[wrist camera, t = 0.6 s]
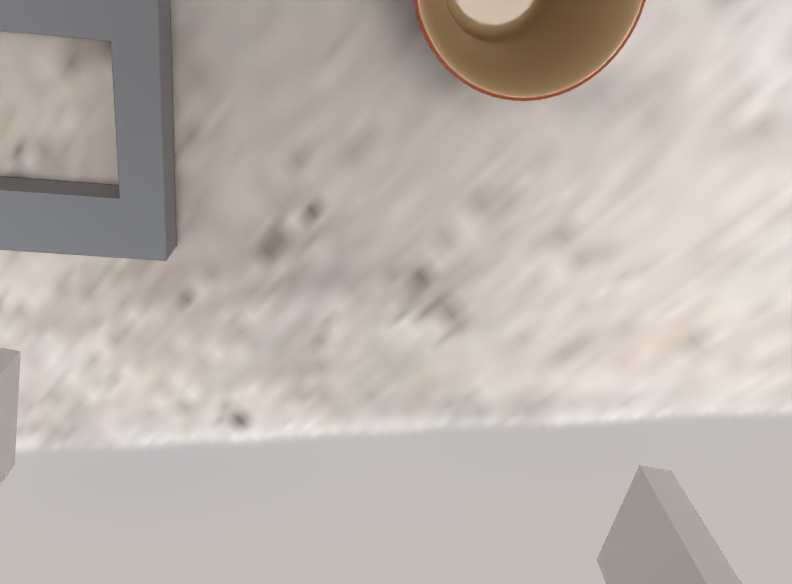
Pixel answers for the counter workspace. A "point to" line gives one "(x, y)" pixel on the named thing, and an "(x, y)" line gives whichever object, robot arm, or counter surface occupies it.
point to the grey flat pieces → (135, 133)
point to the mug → (526, 42)
